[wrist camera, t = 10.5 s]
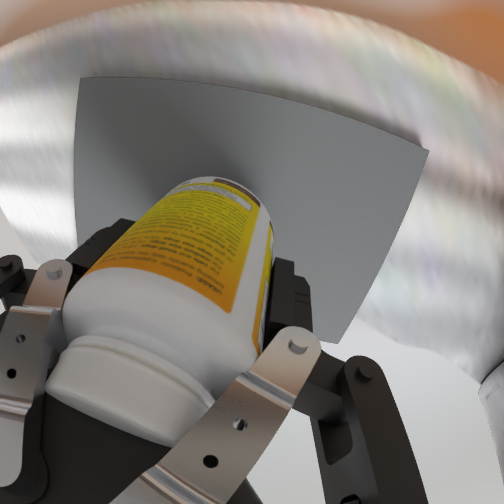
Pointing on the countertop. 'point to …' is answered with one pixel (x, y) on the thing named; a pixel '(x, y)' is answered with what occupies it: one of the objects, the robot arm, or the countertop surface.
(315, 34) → the countertop surface
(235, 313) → the supplement bottle
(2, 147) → the countertop surface
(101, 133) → the mat
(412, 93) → the countertop surface
